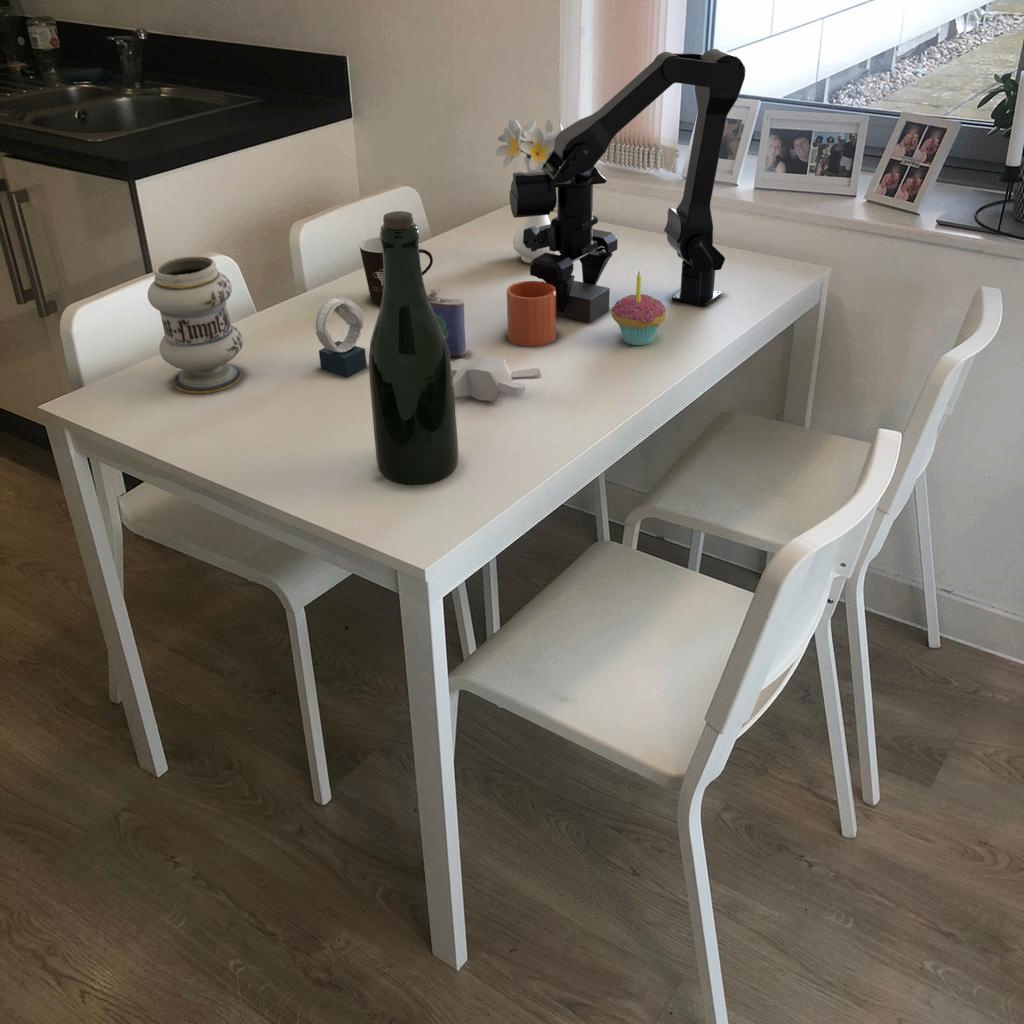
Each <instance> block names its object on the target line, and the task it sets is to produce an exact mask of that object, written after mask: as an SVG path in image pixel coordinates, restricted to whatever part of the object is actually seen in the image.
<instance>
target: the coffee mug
mask: <svg viewBox="0 0 1024 1024" xmlns="http://www.w3.org/2000/svg"><path fill="white" fill-rule="evenodd" d="M358 247H359V252H360V256H361V260H362V264H363V265H362V266H363V270H364V274H365V278H366V284H367V287H368V293H369V296H370V301H371V303H372V304H373V305H375V306H379V307H380V306H381V301H382V295H383V281H384V275H383V252H382V243H381V240H380V236H374V237H370V238H367V239H364V240H362V241H361V242H360V243H359V245H358ZM419 254H424V255H426V256H427V257H428V258H429V264H428V266H427V267H426V268H425V269H424V270H422V277H423V276H425V274H426V273H427V272H428V271H429V270H430V269H431V267H432V266H433V262H434V259H433V255H432V253H431V252H430V251H429V250H427V249H423V248H419Z"/></svg>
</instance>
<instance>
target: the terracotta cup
mask: <svg viewBox="0 0 1024 1024" xmlns="http://www.w3.org/2000/svg"><path fill="white" fill-rule="evenodd" d="M506 311H507V315H506V316H507V317H506V318H507V338H508V340H509V342H511V343H512V344H514V345H517V346H520V347H540V346H541V347H542V346H545V345H548V344H550V343H552V342H554V341H555V339H556V338H557V315H556V289H555V287H554V286H553V285H551V284H549V283H546V282H545V281H540V280H539V281H538V280H525V281H519V282H516V283H513V284H511V285H509V286H508V287H506Z"/></svg>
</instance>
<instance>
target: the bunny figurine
mask: <svg viewBox="0 0 1024 1024" xmlns="http://www.w3.org/2000/svg"><path fill="white" fill-rule="evenodd" d="M451 367H452V376H453V387H454V399H456V398H461V397H468V396H471V397H472V398H474V399H476V400H479V401H491V402H495V401H496V400H498V398H499V397H500V396H502V395H503V394H507V395H508V396H510V397H513V398H519V397H523V396H524V395H525V393H526V387H527V386H526V384H525V383H522V382H518V381H517V380H539V379H542V378H543V374H542V371H541V369H540V368H538V367H534V368H526V369H520V370H515V371H514V370H513V371H512V369H510V367H509V365H508V363H507V361H506V360H505V359H504V358H501V357H497V356H496V357H494V356H488V357H487V356H486V357H482V358H478V359H474V360H466V359H465V358H457V359H456V360H454V361H453V362H451ZM514 380H515V381H514Z"/></svg>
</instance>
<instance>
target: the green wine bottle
mask: <svg viewBox="0 0 1024 1024" xmlns="http://www.w3.org/2000/svg"><path fill="white" fill-rule="evenodd" d="M382 217H383V219H382V221H383V224H381V226H380V229H379V230H380V231H379V237H380V240H381V243H382V252H383V275H384V281H383V295H382V301H381V306H379V310H378V313H377V317H376V320H375V324H374V327H373V331H372V334H371V338H370V341H369V344H370V345H369V352H368V371H369V389H370V400H371V401H370V402H371V413H372V424H373V438H374V447H375V457H376V465H377V469H378V471H379V473H380V474H381V475H382V477H383V478H385V479H386V480H388V481H389V482H391V483H395V484H397V485H403V486H410V487H415V486H416V487H418V486H427V485H431V484H435V483H438V482H441V481H443V480H445V479H446V478H448V477H450V476H451V475H453V474H454V472H455V471H456V469H457V468H458V466H459V440H458V426H457V414H456V402H455V399H456V398H455V397H454V387H453V376H452V367H451V363H452V360H451V359H452V358H450V352H449V348H448V344H447V341H446V337H445V335H444V332H443V330H442V328H441V326H440V324H439V321H438V319H437V317H436V315H435V313H434V311H433V309H432V307H431V304H430V302H429V300H428V297H427V295H428V294H427V291H426V287H425V282H424V278H423V276H422V271H423V270H422V264H421V255H420V254H421V253H419V249H420V243H419V241H420V231H419V229H418V228H419V227H418V225H417V224H416V223H415V221H414V217H413V213H412V212H409V211H405V210H394V211H390V212H387V213H385V214H384V215H383V216H382Z"/></svg>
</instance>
